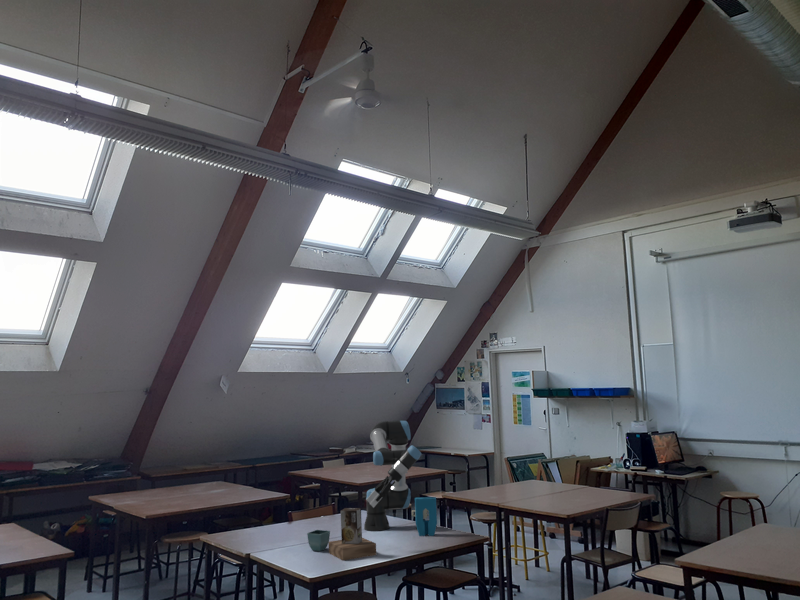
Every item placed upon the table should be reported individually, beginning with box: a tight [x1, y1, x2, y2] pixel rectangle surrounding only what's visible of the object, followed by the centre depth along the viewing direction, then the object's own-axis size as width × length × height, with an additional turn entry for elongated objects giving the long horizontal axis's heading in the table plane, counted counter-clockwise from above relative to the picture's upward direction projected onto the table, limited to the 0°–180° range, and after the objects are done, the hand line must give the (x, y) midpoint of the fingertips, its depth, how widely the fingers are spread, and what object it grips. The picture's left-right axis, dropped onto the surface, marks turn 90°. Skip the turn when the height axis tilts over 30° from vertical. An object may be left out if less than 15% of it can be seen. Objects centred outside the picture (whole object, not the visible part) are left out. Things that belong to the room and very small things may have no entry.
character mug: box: [411, 508, 429, 530], centre depth 348 cm, size 11×7×13 cm, turn 84°
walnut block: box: [328, 537, 377, 561], centre depth 296 cm, size 18×18×6 cm
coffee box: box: [340, 507, 363, 544], centre depth 298 cm, size 9×6×16 cm
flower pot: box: [306, 529, 331, 552], centre depth 307 cm, size 9×9×9 cm
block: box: [414, 496, 438, 537], centre depth 335 cm, size 12×5×20 cm, turn 86°
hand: (369, 503), depth 302 cm, fingers open, 13 cm apart
